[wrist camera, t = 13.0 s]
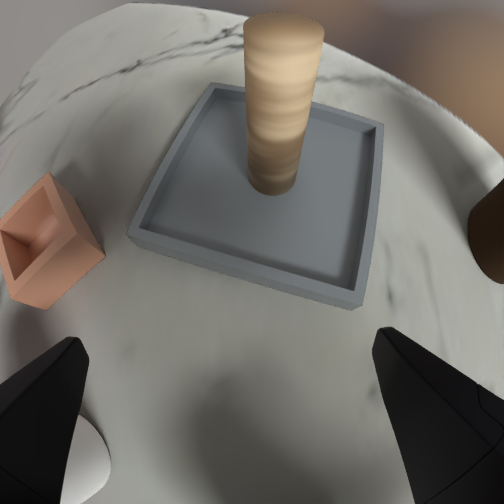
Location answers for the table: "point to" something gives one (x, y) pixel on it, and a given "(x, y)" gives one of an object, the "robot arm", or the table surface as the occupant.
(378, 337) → the robot arm
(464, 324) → the table surface
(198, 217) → the tray
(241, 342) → the table surface
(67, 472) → the mug
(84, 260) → the open box
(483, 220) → the olive oil
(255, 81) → the dowel
